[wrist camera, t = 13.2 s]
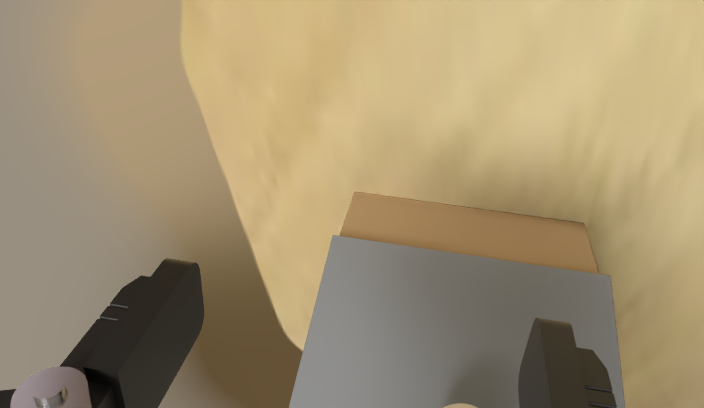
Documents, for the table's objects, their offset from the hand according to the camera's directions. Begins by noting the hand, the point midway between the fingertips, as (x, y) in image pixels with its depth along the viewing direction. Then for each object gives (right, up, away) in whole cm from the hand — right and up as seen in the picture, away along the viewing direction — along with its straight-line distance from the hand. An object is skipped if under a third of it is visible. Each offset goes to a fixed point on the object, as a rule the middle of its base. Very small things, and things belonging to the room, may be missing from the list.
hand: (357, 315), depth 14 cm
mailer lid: (+7, -9, +25) cm, 27 cm away
